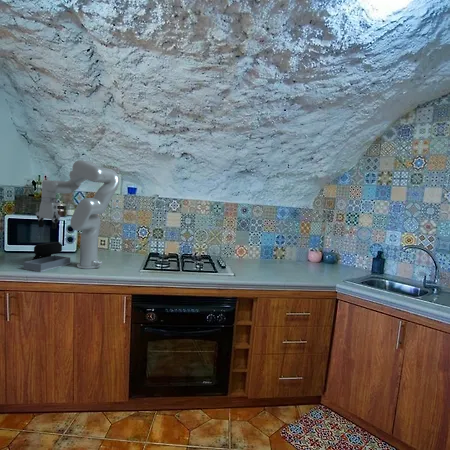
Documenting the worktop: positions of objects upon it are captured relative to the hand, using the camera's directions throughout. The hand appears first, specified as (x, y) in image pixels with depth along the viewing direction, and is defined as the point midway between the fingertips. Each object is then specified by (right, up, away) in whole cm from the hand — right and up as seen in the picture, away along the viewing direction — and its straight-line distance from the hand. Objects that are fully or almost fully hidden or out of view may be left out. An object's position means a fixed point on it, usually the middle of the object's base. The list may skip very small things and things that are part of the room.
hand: (47, 227), depth 197 cm
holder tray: (+9, -22, -16) cm, 29 cm away
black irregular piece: (-1, -20, +1) cm, 20 cm away
